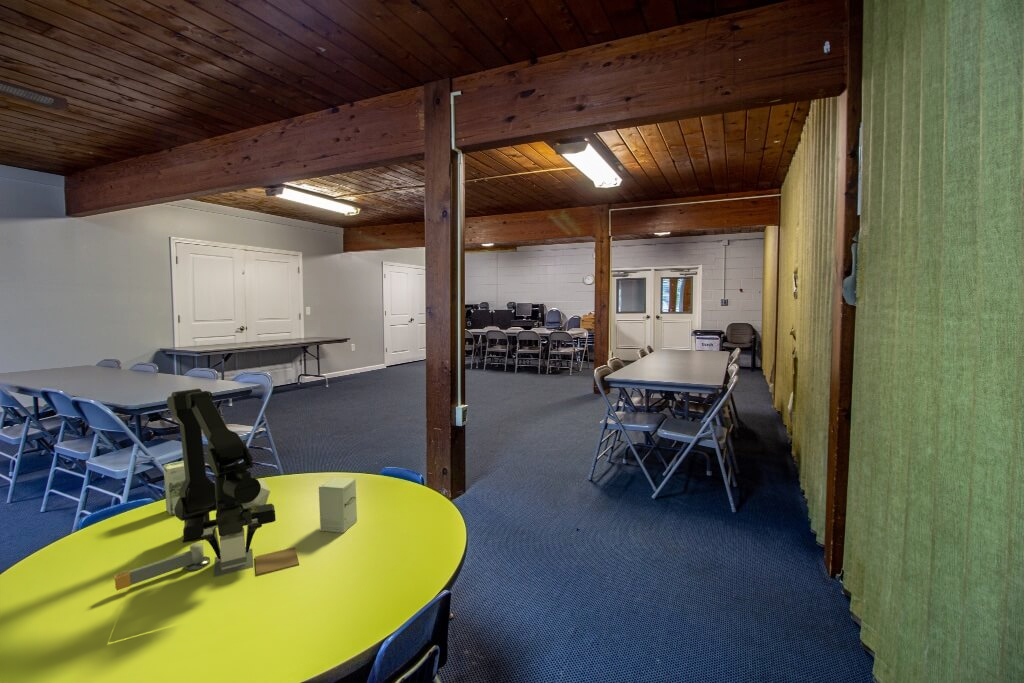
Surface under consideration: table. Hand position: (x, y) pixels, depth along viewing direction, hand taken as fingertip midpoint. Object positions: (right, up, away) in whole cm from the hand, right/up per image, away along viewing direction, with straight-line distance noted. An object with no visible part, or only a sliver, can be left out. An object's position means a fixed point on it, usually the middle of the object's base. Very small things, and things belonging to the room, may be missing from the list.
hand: (233, 555), depth 116 cm
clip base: (-8, -2, -1) cm, 8 cm away
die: (-12, 0, +32) cm, 35 cm away
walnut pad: (+10, -2, 0) cm, 10 cm away
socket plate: (0, -2, 0) cm, 2 cm away
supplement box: (+19, 0, +19) cm, 27 cm away
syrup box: (-34, 0, +30) cm, 45 cm away
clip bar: (-13, -1, -6) cm, 14 cm away
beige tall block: (0, -2, 0) cm, 2 cm away
